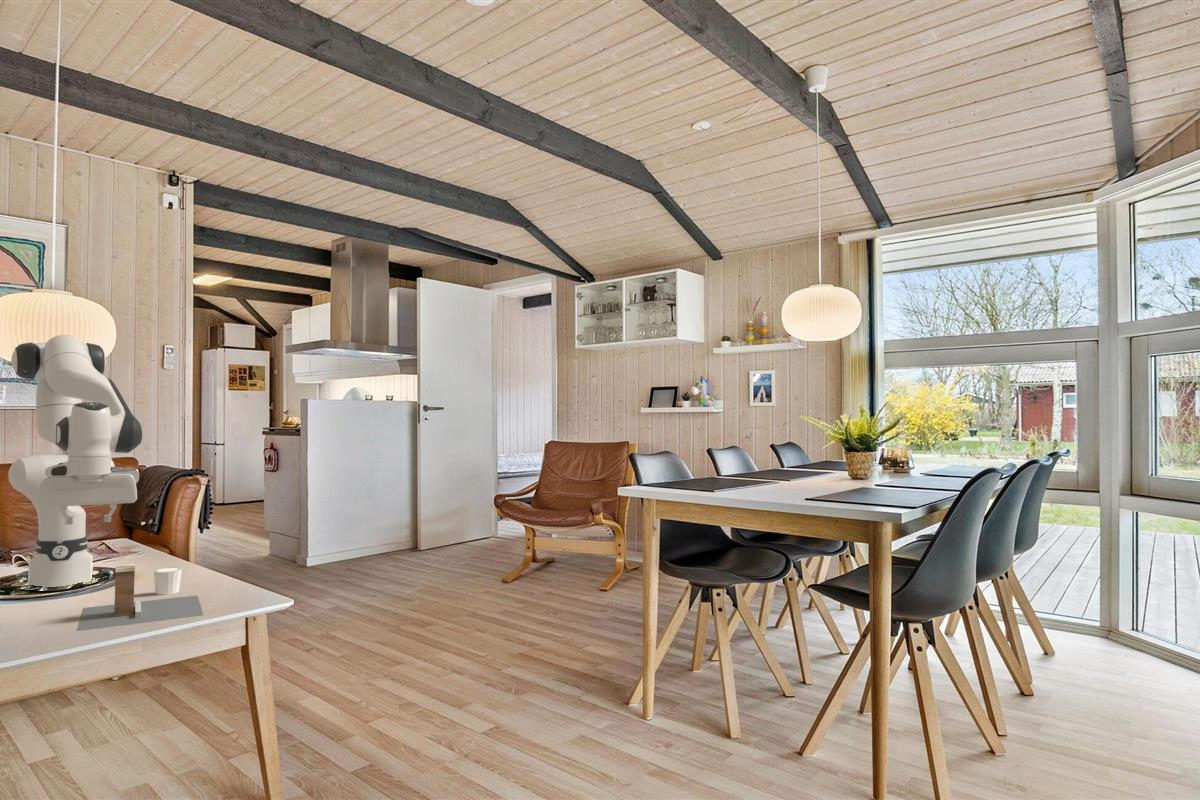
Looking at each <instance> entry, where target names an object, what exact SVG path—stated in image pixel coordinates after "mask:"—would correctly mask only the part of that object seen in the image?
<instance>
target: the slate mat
mask: <svg viewBox="0 0 1200 800" xmlns="http://www.w3.org/2000/svg"><path fill="white" fill-rule="evenodd" d="M114 608H115V604H106V605H100V606H99V605H97V606H90V607H83V608H82V610H81V611H82V612H81V615H80V619H79V622H78V626H77V630H76V631H77V632H79V631H80V632H81V631H88V630H97V629H103V628H112V627H119V626H127V625H128V626H129V625H136V624H144V623H153V622H160V621H167V620H176V619H182V618H193V617H200V616H204V612H203V608H202V606H201V602H200V600H199V596H198V595H197V594H196V595H188V596H179V597H172V598H171V597H170V598H161V599H153V600H152V599H151V600H143V601H141V600H134V609H133V615H129V616H121V617H114Z"/></svg>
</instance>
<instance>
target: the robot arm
mask: <svg viewBox="0 0 1200 800" xmlns="http://www.w3.org/2000/svg"><path fill="white" fill-rule="evenodd" d="M10 361H11V366H12V369H13V371H14V372H15V374H16V375H17V376H18V377H19V378H20V379H24V380H25V379H26V380H31V381H32V380H34V379H37V380H38V381H37V385H36V394H35V413H36V427H37V433H38V436H40V437H41V438H42V439H43V440H44V441H46V442H49V443H51V444H54V445H56V446H57V447H58V448H59V449H60V451H61V453H49V454H48V453H47V454H45V453H44V454H42V453H41V454H34V455H28V456H24V457H20V458H19V457H18V458H17V459H16V460H15V461H13V462H12V464H11V465H10V467H9V468H8V469H9V470H8V473H7V475H8V476H7V477H8V481H9V484H10V485H11V487H12V488H13V489H14V490H16V491H17V492H19V493H20V494H23V495H24V496H25V497H27V498H28V500H30V502H31V503H32V504H33V506H34V508H35V511H36V514H37V521H38V523H37V524H38V527H37V528H38V537H37V538H38V539H36V542H35V543H36V544H35V552H36V554H35V556H34V557H32V558H31V559H30V560H29V561H28V573H27V582H28V585H34V586H42V587H57V586H58V587H59V586H66V585H72V584H77V583H81V582H84V581H87V580H91V579H92V572H94V570H95V569H94V568H95V567H94V566H93V555H92V554H91V553H89V552H88V550H87V548H88V536H87V535H86V530H87V524H86V523H87V522H86V520H87V513H86V510H85V509H84V508H83V507H82V506H96V505H97V506H99V505H109V509H110V511H109V512H108V514H104V515H103V523H112V515H113V514H114V512H115V511H117V510H116V509H117V506H118V505H119V504H134V503H135V502H136V501H137V500H138V489H137V483H139V481H140V472H139V470H138V469H137V468H134V467H132V466H116V465H115V463H114V461H113V459H112V455H113V454H112V453H119V454H122V453H125V454H129V453H130V452H132V451H134V450H135V449H136V448H137V447H139V446H140V445H141V443H142V441H143V429H142V425H141V423H140V421H139V419H137V418H136V416H134V414H133V413H132V411H131V410H130V408H129V406H128V404H126V403H127V402H126V401H125V399H124V397H123V396H122V394H121V392H120V390H119V388H118V387H117V386H116V384H115V383H114V381H113V379H111V378H109V377H107V376H105V375H104V372H105V370H106V368H107V363H108V362H107V357H106V354H105V352H104V349H103V348H102V347H101V346H100V345H98V344H94V343H90V342H87V343H84V342H83V341H82V340H81V339H79V338H77V337H75V336H73V335H69V334H59V335H56V336H53V337H51V338H50V339H48V340H47V341H46V342H35V343H34V342H31V341H30V342H24V343H20V344H18V345H17V346H15V348H14V351H13V352H12V354H11V360H10ZM83 401H85V402H83ZM117 504H118V505H117Z"/></svg>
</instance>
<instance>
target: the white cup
mask: <svg viewBox="0 0 1200 800" xmlns="http://www.w3.org/2000/svg"><path fill="white" fill-rule="evenodd" d="M182 570H183V568H182V567H163V568H158V569H155V570H153V577H154V580H153V581H154V592H155V594H156V595H159V596H160V595H161V596H162V595H163V596H164V595H165V596H166V595H173V594H177V593H179V592H180V586H181V579H182Z"/></svg>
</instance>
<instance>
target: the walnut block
mask: <svg viewBox="0 0 1200 800" xmlns="http://www.w3.org/2000/svg"><path fill="white" fill-rule="evenodd" d="M135 568H136V567H135V563H129V564H117V565H115V574H114V575H115V577H114V578H115V579H114V580H115V581H114V605H115V608H114V617H121V616H129V615H133V609H134V602H135V600H134V599H135V571H136V569H135Z"/></svg>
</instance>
